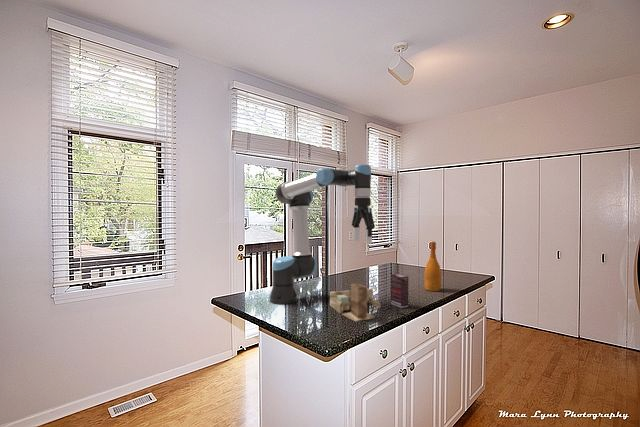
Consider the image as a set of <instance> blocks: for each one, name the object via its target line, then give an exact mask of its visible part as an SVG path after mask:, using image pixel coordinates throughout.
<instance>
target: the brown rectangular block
mask: <svg viewBox="0 0 640 427" xmlns="http://www.w3.org/2000/svg"><path fill="white" fill-rule="evenodd" d="M367 289H368V286H365V285H364V284H362V283H360V282H358V283H351V284H350V290H351V309H350V312H351V313H352V314H353V315H354V316H356V317H357V318H364V317H367V313H368V303H367Z"/></svg>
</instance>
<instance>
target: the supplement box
mask: <svg viewBox="0 0 640 427" xmlns="http://www.w3.org/2000/svg"><path fill="white" fill-rule="evenodd" d="M390 304H391V305H393V306H395V307H398V308H401V309H403V308H408V307H409V275H404V274H400V273H393V274H390Z"/></svg>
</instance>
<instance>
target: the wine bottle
mask: <svg viewBox="0 0 640 427" xmlns="http://www.w3.org/2000/svg"><path fill="white" fill-rule="evenodd" d="M429 245H430V255H429V257H428V260H427V262H426V266H425V267H424V268H425V269H424V274H423V275H424V276H423V278H424V281H423V282H424V289H425V290H426V291H428V290H429V292H439V291H441V290H442V289H441V288H442V271H441V270H442V269H441V266H440V264H439V262H438V260H437V254H436V250H437V247H436V246H437V243H436V242H435V241H431V242H430V244H429Z"/></svg>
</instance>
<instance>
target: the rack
mask: <svg viewBox="0 0 640 427" xmlns="http://www.w3.org/2000/svg"><path fill="white" fill-rule="evenodd" d="M373 290H374V289H373V288H367V304H368V303H369V304H370V305H372V306H373V307H376V308H378V309H381V302H379V301H378V300H375V299H374V298H373V296H374V295H373V293H374V291H373ZM337 295H346V296H347V297H348V303H349V310H351V289H350V290H349V289H347V290H337V291H330V292H329V306H330V307H331V308H333V309H334V310H335V311H336V312H337V313H339V314H342V313H344V311H343V302H341V301H340V300H338V299H337Z"/></svg>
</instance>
